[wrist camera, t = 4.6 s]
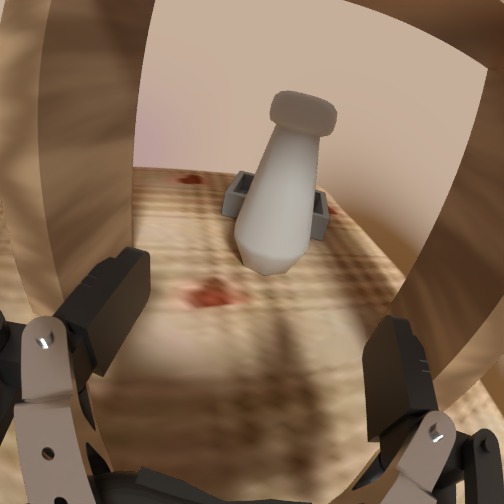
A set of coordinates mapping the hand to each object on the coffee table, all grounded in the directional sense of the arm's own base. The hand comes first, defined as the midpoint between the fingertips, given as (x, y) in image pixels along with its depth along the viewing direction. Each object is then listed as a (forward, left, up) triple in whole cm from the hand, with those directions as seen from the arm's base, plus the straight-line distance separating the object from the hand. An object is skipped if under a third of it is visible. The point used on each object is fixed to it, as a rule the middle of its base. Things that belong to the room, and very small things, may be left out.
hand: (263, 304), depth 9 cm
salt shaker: (0, +13, -7) cm, 15 cm away
